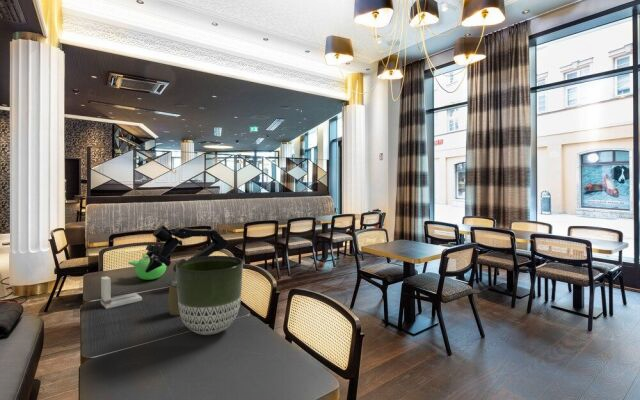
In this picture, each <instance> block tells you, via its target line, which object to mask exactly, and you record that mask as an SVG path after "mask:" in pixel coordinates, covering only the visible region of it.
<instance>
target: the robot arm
mask: <svg viewBox="0 0 640 400" xmlns="http://www.w3.org/2000/svg"><path fill="white" fill-rule="evenodd" d="M152 236H153V237H154V238H156V239H157V240H159V241H160V242H161V243H163V244H154V245H153V244H149V243H148V244H147V246H146V247H145V250H146V251H147V252H146V253H145V254H146V255H148V256H149V258H150V262H149V264H148V266H147V268H146V270H145V272H146V273H148V272H150V271H152V270H154V269H156V268H158V267H160V266H163V265H162V263H164V264H165V265H166V267H169V266H170V265H172V262H171V260H170V259H168V257H169V256H170V255H172V254H173V251H174V250H175V248H176V247H178V246H181V247H182V246H183V240H186V239H190V238H193V237H196V238H197V237H209V238H210V241H211V242H210V244H209V245H208V246H206V247H205V248H204V249H202V250H200V251H198V253H196V254H195V255H193V256H191V257H190V258H196V257H203V256H211V255H212V254H214V253H215V252H218V251H222V250H223V249H226V248H227V246H228V241H227V239H225V238H224V237H223V236H221V235H220V234H219V233H218V231H217V230H215V229H191V228H185V227H181V226H180V227H179V226H177V227H175V229H171V230H170V229H168V228H167V227H166V226H165V225H161V226H160V227H158V228H157V229H155V230H154V231H153V233H152ZM180 239H181V240H180ZM183 260H186V259H185V258H182V259H180V260H179V261H176V262H175V264H174V265H173V268H172V269H173V272H174V273H175V274H176V264H177V263H179V262H181V261H183Z"/></svg>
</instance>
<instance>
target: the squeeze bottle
mask: <svg viewBox="0 0 640 400" xmlns="http://www.w3.org/2000/svg"><path fill="white" fill-rule="evenodd" d="M167 298H168V299H167V309H168V311H169V314H170V315H171V316H180V312H179V306H178V293H177V277H176V274H175V277H174V280H172V281H171V286H170V287H169V289H168V297H167Z"/></svg>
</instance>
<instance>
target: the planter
mask: <svg viewBox="0 0 640 400" xmlns="http://www.w3.org/2000/svg"><path fill="white" fill-rule="evenodd" d="M178 262H179V261H178ZM175 264H176V273H175V275H176V277H177V293H178V306H179V312H180V315H179V316H180V318H181V321H182V323H183V324H184V326H186V328H187V329H189V330H190V331H192V333H195V334H198V335H201V336H202V335H203V336H210V335H211V336H212V335H215V334H219V333H221V332H223V331H225V330H226V329H227V328H228V327H230V325H232V323H233V322H234V321H235V319H236V317H237V316H238V313H239V310H240V306H241V300H242V289H243V288H242V287H243V285H242V284H243V269H244V265H243V264H244V261H243V259H241V258H239V257H236V256H230V255H229V256H228V255H209V256H203V257H196V258H191V257H190V258H187V259H185V260H183V261H181V262H179V263H175Z"/></svg>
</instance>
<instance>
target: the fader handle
mask: <svg viewBox="0 0 640 400" xmlns="http://www.w3.org/2000/svg"><path fill="white" fill-rule="evenodd" d="M111 282H112V281H111V278H110V277H109V276H106V275H105V276H101V277H100V289H101V290H100V291H101V298H100V302H101V301H102V302H103V303H104V304H107V303H111V302H112V300H111V298H112V296H111V294H112V290H111V289H112V287H111V285H112V284H111Z"/></svg>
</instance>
